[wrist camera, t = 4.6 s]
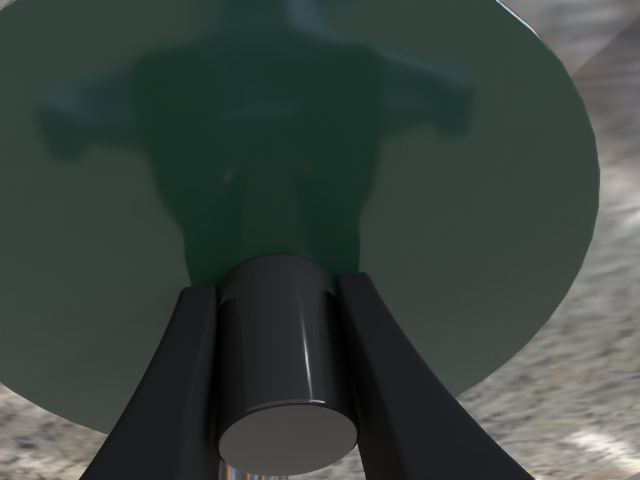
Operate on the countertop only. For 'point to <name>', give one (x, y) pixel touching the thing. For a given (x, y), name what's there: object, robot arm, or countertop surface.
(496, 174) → the lid
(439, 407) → the robot arm
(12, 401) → the countertop surface
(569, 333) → the countertop surface
